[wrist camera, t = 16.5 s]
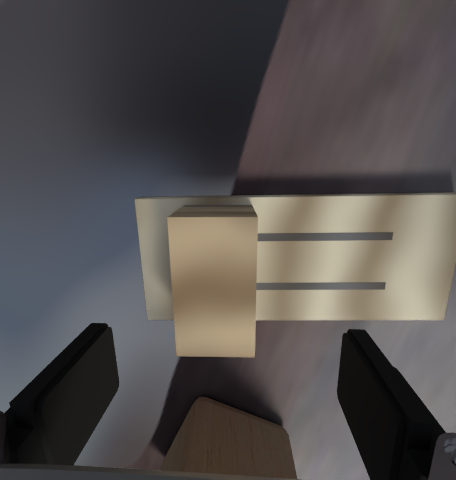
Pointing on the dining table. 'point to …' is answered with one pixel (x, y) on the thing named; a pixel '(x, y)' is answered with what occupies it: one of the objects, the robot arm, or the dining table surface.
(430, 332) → the dining table surface
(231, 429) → the wooden block
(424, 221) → the birch plank
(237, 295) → the block
